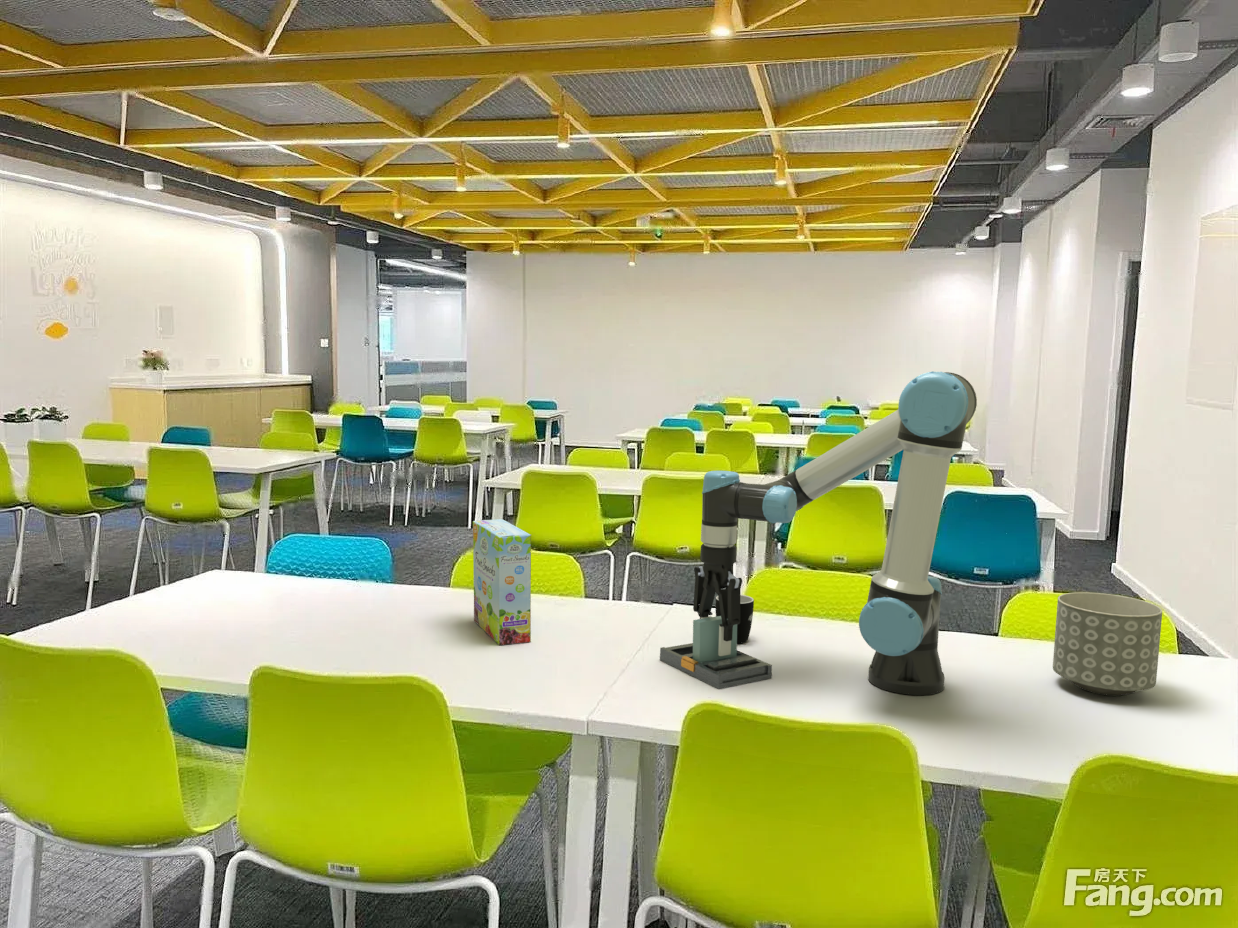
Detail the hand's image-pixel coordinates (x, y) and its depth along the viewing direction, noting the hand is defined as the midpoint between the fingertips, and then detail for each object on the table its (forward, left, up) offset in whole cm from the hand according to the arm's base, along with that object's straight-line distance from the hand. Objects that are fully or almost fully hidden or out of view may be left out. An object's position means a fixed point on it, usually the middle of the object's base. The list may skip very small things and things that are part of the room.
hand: (714, 650), depth 199 cm
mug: (+16, -18, -4) cm, 24 cm away
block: (0, 0, -3) cm, 3 cm away
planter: (-48, -64, -4) cm, 80 cm away
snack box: (+46, +29, -4) cm, 55 cm away
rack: (0, 0, -4) cm, 4 cm away
